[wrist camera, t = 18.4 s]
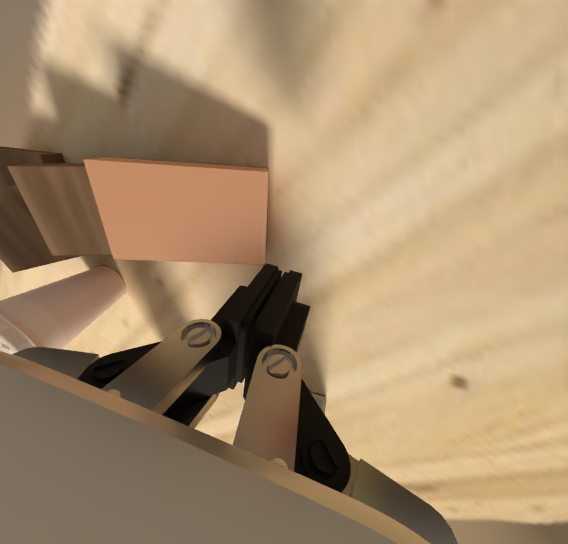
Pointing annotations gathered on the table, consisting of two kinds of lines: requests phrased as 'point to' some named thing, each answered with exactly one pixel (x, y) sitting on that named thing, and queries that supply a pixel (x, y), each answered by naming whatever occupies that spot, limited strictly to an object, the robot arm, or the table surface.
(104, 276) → the smoothie
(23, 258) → the tile
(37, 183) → the brown wooden block
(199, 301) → the table surface
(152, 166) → the tile
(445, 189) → the table surface
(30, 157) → the tile
